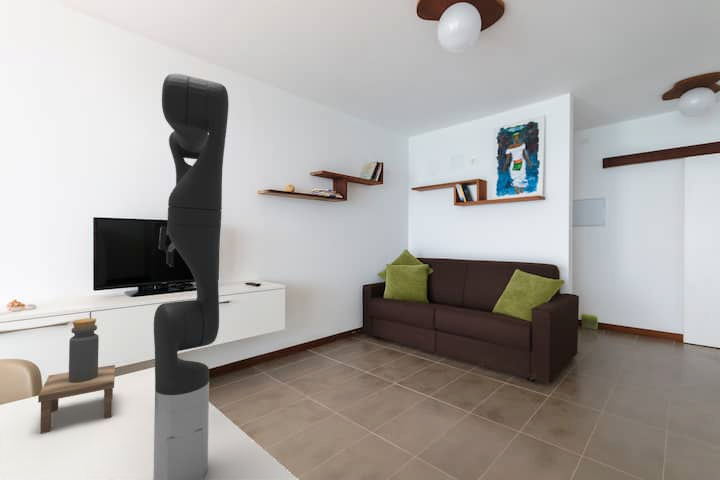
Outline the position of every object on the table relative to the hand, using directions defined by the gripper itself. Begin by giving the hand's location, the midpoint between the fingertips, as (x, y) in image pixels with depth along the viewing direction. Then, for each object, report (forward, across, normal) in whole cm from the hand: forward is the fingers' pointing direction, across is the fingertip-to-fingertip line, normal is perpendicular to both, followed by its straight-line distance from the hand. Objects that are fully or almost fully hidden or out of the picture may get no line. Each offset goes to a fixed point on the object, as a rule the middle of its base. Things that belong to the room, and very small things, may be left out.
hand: (189, 266), depth 90 cm
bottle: (+29, -22, +12) cm, 39 cm away
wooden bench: (+38, -23, +12) cm, 46 cm away
